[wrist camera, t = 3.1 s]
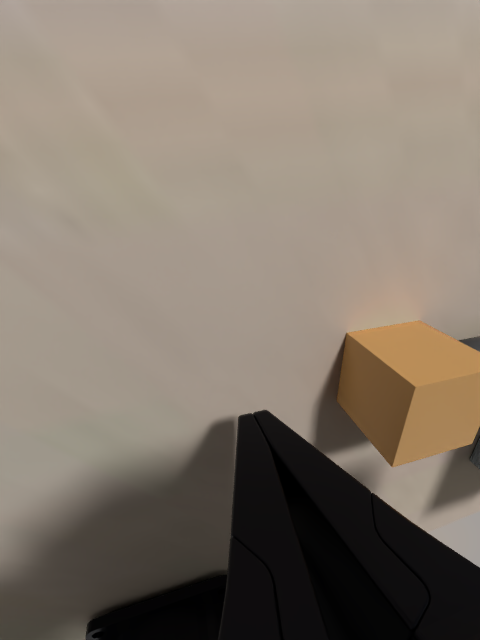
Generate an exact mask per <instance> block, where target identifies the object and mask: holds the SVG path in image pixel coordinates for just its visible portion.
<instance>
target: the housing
mask: <svg viewBox="0 0 480 640" xmlns="http://www.w3.org/2000/svg"><path fill="white" fill-rule="evenodd" d="M470 461H471V462H472V463H473V464H474V465H475V466H477V467H478V468H479V469H480V438H479V441H478V443H477V445H476V447H475V449H474V451H473V454H472V456H471V458H470Z"/></svg>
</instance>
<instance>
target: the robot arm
mask: <svg viewBox="0 0 480 640" xmlns="http://www.w3.org/2000/svg"><path fill="white" fill-rule="evenodd" d="M86 640H480V568H479V567H478V566H476V565H475V564H473V563H472V562H470V561H469V560H467V559H466V558H464V557H463V556H461V555H460V554H458V553H457V552H455V551H454V550H452V549H451V548H449V547H447V546H446V545H444V544H443V543H442V542H440V541H438V540H437V539H436V538H434V537H433V536H431V535H430V534H428V533H427V532H425V531H424V530H423V529H421V528H420V527H418V526H417V525H415V524H414V523H412V522H411V521H410V520H408V519H407V518H406V517H404V516H403V515H402V514H400V513H399V512H398V511H396V510H395V509H394V508H392V507H391V506H390V505H388V504H387V503H386V502H384V501H383V500H382V499H380V498H379V497H378V496H377V495H375V494H374V493H372V494H371V491H370V490H369V489H367V488H366V487H365V486H364V485H362V484H361V483H360V482H358V481H357V480H356V479H355V478H353V477H352V476H351V475H349V474H348V473H347V472H346V471H344V470H343V469H342V468H341V467H339V466H338V465H337V464H335V463H334V462H333V461H332V460H330V459H329V458H328V457H326V456H325V455H324V454H323V453H321V452H320V451H319V450H317V449H316V448H315V447H314V446H312V445H311V444H310V443H308V442H307V441H306V440H305V439H303V438H302V437H301V436H300V435H298V434H297V433H296V432H294V431H293V430H292V429H291V428H289V427H288V426H287V425H285V424H284V423H283V422H282V421H280V420H279V419H278V418H276V417H275V416H274V415H273V414H271V413H270V412H269V411H267V410H262V411H258V412H254V413H253V414H252V413H249V414H244V415H240V416H239V417H238V430H237V446H236V461H235V476H234V491H233V506H232V522H231V539H230V549H229V563H228V573H227V575H222V576H218V577H215V578H212V579H209V580H207V581H204V582H201V583H198V584H195V585H192V586H189V587H186V588H183V589H180V590H177V591H174V592H171V593H168V594H165V595H162V596H159V597H156V598H153V599H151V600H148V601H145V602H142V603H139V604H136V605H133V606H130V607H127V608H124V609H121V610H118V611H115V612H112V613H109V614H106V615H103V616H100V617H97V618H95V619H93V620H91V621H90V622H89V623H88V625H87V631H86Z"/></svg>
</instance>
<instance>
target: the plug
mask: <svg viewBox="0 0 480 640" xmlns="http://www.w3.org/2000/svg"><path fill="white" fill-rule="evenodd" d="M337 402H338V403H339V404H340V406H341V407H342V408H343V409H344V410H345V412H346V413H347V414H348V415H349V416H350V418H351V419H352V420H353V421H354V422H355V424H356V425H357V426H358V427H359V428H360V430H361V431H362V432H363V433H364V434H365V436H366V437H367V438H368V439H369V440H370V442H371V443H372V444H373V445H374V446H375V448H376V449H377V450H378V451H379V452H380V454H381V455H382V456H383V457H384V458H385V460H386V461H387V462H388V463H389V464H390V466H391V467H396V466H399V465H402V464H406V463H409V462H412V461H416V460H419V459H423V458H426V457H429V456H433V455H436V454H439V453H443V452H446V451H449V450H453V449H456V448H460V447H463V446H466V445H470V444H472V443H473V440H474V438H475V436H476V434H477V431H478V429H479V427H480V336H479V337H474V338H469V339H464V340H459V341H458V340H456V339H454V338H452V337H450V336H448V335H446V334H444V333H442V332H441V331H439V330H437V329H435V328H433V327H431V326H429V325H427V324H425V323H423V322H421V321H414V322H408V323H402V324H396V325H390V326H384V327H378V328H372V329H367V330H361V331H355V332H349V333H347V334H346V341H345V347H344V354H343V361H342V368H341V375H340V381H339V388H338V395H337Z"/></svg>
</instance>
